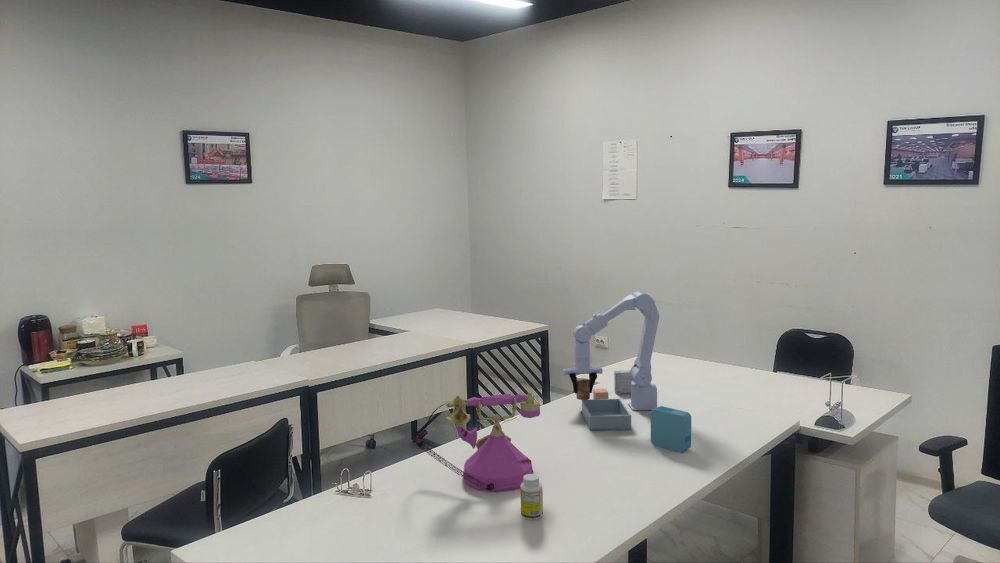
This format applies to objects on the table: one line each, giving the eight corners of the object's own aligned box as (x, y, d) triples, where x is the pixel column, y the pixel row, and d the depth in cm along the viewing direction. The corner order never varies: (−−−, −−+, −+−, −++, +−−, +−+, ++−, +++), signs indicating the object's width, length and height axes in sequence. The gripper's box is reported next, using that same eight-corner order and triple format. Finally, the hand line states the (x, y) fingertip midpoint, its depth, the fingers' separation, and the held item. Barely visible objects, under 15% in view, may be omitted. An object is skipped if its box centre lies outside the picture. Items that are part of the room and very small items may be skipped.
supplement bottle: (529, 508, 165) (529, 470, 164) (547, 514, 162) (546, 475, 160) (516, 516, 161) (515, 477, 160) (534, 523, 157) (533, 483, 156)
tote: (619, 411, 239) (619, 398, 238) (631, 429, 220) (631, 415, 219) (581, 412, 239) (581, 399, 238) (589, 430, 220) (589, 416, 219)
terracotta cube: (606, 400, 253) (605, 388, 252) (608, 404, 248) (608, 392, 247) (593, 401, 253) (593, 388, 252) (595, 405, 248) (595, 392, 247)
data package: (691, 449, 201) (691, 412, 200) (684, 453, 198) (684, 416, 197) (657, 440, 210) (657, 405, 208) (650, 444, 206) (650, 408, 205)
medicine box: (633, 390, 265) (633, 370, 264) (634, 393, 261) (634, 373, 260) (614, 390, 266) (614, 370, 265) (615, 393, 261) (615, 373, 260)
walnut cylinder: (588, 395, 245) (588, 378, 244) (590, 399, 240) (590, 381, 239) (575, 396, 245) (575, 378, 244) (577, 400, 240) (577, 382, 239)
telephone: (533, 459, 197) (531, 379, 194) (551, 490, 175) (550, 402, 172) (416, 470, 191) (413, 388, 188) (420, 504, 169) (416, 412, 166)
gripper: (599, 354, 245) (600, 388, 246) (562, 355, 245) (562, 390, 246) (603, 358, 238) (603, 394, 239) (564, 360, 238) (565, 395, 239)
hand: (583, 392), depth 242 cm, fingers closed on walnut cylinder, 5 cm apart
